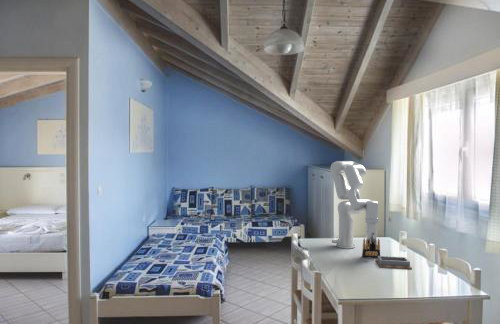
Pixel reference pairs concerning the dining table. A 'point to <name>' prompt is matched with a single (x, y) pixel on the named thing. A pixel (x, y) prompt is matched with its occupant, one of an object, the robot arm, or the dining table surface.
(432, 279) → the dining table surface
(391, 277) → the dining table surface
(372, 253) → the ammunition clip
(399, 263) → the pocket board
